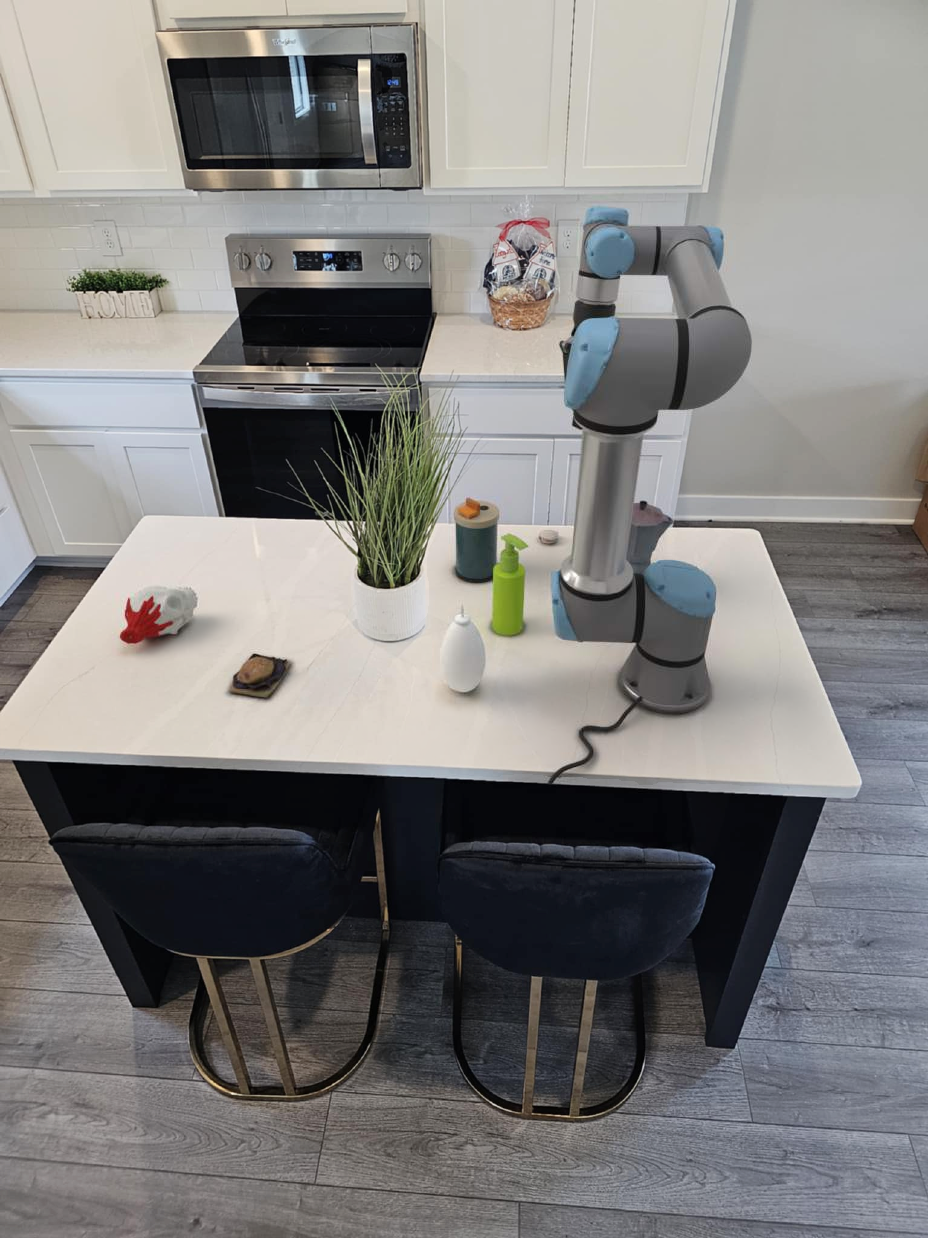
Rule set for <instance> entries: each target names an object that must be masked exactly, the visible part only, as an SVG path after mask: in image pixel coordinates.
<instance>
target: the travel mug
mask: <svg viewBox="0 0 928 1238" xmlns="http://www.w3.org/2000/svg"><path fill="white" fill-rule="evenodd" d="M475 501H476V502H478V503H480V514H478V515H476V516H474V517H471V518H467V517H466V516H464V515H462V514H460V513H459V512H458V508H460V507H463V506H465V505H466V501H464V502H462V503H459V504H458V505H456V506H455V508H454V510H453V519H454V520H453V521H454V522H455V567H454V570H455V571H454V573H455V576H456V577H457V578H459V579H460V580H462V581H464V582H467V583H471V584H472V583H473V584H480V583H486V582H489V581H491V580H493V568H494V566H495V565H497V564H498V563H497V562H498V522H499V520H500V509H499V507H498V506H497V505H495V504H494V503H491V502H490V501H489V502H488V501H485V500H475Z"/></svg>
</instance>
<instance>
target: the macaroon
mask: <svg viewBox="0 0 928 1238" xmlns="http://www.w3.org/2000/svg"><path fill="white" fill-rule="evenodd" d="M558 538H559V532H558V531H556V530H552V529H543V530H540V531H539V532H538V539H539V540H540V541H541V543H544V544H554V543H555V542H556V541H557V539H558Z"/></svg>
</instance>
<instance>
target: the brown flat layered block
mask: <svg viewBox="0 0 928 1238" xmlns="http://www.w3.org/2000/svg"><path fill="white" fill-rule="evenodd" d="M290 666H291V662H290V661H289V660H288V659H287V658H285V659H282V658H280V657H279V658H276V657H275V656H268V655H262V654H258V653H255V652H254V653H252V654H251V656H250V657H249V658H248V659H247V660H246V661H244V663H242V666H241V667H240V670H238V671H237V672H236V673H234V674H233V675H232V684H231V686H230V687H229V692H230V693H231V694H240V695H248V696H251V697H256V698H257V697H258V698H264V699H268V698H269V697H270V695H272V693H273V692H274V691H275V690H276V689H277V687H278V686H279V685H280V683H281V682H282V680H283V679H284V676H285V675H286V674H287V671H288V670H289V668H290Z"/></svg>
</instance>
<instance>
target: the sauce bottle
mask: <svg viewBox="0 0 928 1238" xmlns="http://www.w3.org/2000/svg"><path fill="white" fill-rule="evenodd" d="M441 642H442V643H441V645H440V650H439V669H440V672H441V676H442V678H443V681H444V682H445V684H446V685H447V686H448V687H449V688H450V689H451V690H453V691H455V692H458V693H469V692H470V691H472V690H474V689H475V688H476V687H478V685H479V684H480V682H481V680H482V678H483V675H484V672H485V670H486V649H485V644H484V641H483V638H482V635H481V633H480V631H479V629H478V627H477V626H476V625H475V624H474V622H473V621H472V620H471V617H470V616H469V615H468V614H466V613H465V611H464V604H463V603H461V607H460V613H458V614H456V615H455V617H454V620H453V621H452V622H451V624H450V625H449V626H448V628H447V629H446V632H445V634H444V636H443V639H442V641H441Z"/></svg>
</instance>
